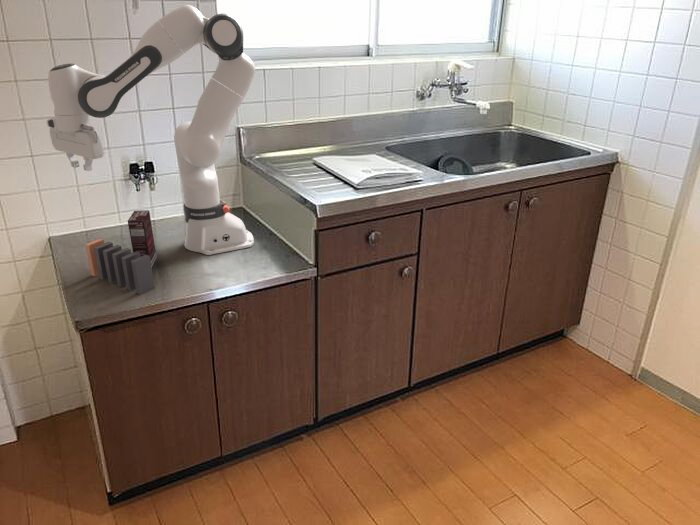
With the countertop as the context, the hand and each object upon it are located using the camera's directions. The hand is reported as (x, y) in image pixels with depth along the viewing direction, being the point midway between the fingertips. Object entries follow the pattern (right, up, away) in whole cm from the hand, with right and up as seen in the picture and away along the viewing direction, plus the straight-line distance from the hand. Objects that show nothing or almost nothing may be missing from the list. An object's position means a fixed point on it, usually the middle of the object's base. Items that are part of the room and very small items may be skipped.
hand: (81, 168), depth 179 cm
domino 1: (+7, -31, -2) cm, 32 cm away
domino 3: (+13, -33, -6) cm, 36 cm away
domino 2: (+10, -32, -4) cm, 34 cm away
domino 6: (+23, -36, -12) cm, 45 cm away
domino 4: (+17, -34, -8) cm, 39 cm away
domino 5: (+20, -35, -10) cm, 42 cm away
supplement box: (+18, -29, +4) cm, 34 cm away
